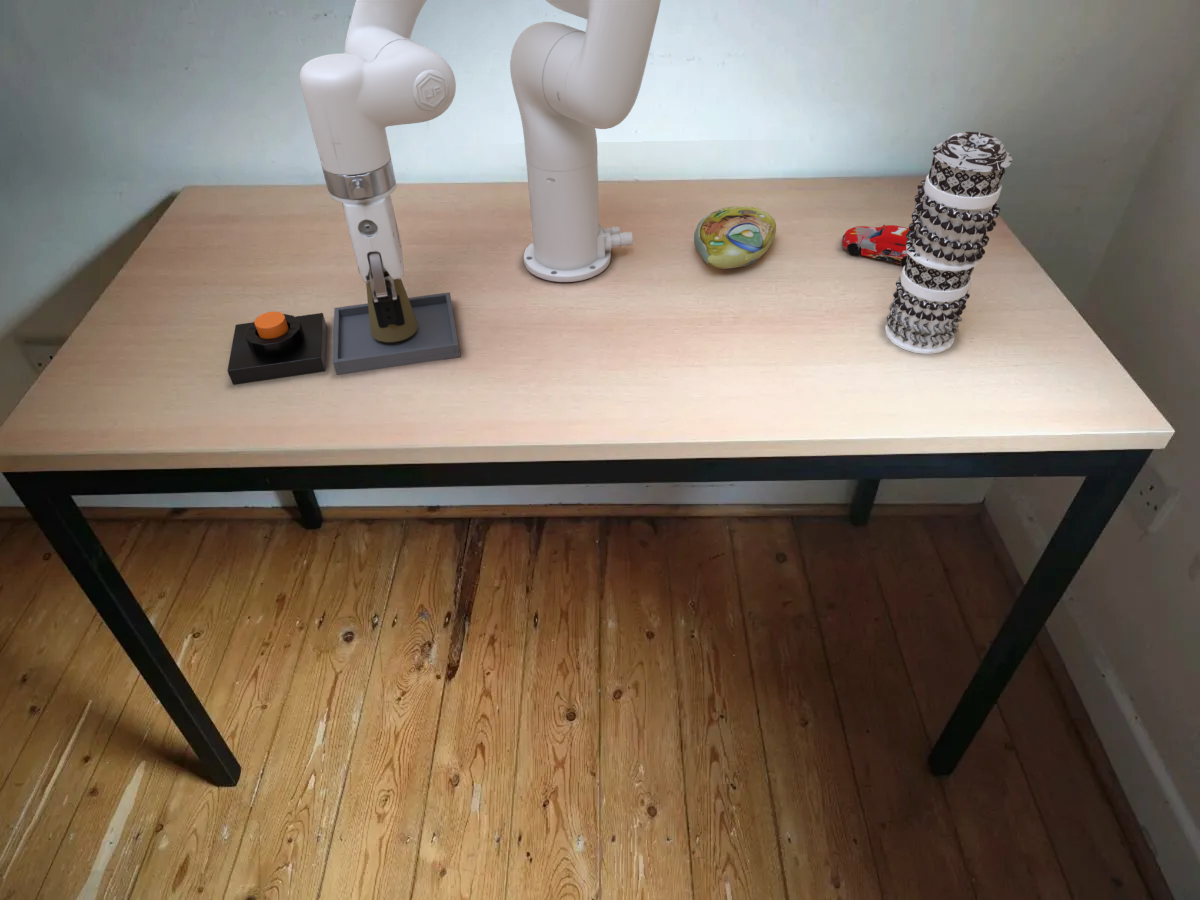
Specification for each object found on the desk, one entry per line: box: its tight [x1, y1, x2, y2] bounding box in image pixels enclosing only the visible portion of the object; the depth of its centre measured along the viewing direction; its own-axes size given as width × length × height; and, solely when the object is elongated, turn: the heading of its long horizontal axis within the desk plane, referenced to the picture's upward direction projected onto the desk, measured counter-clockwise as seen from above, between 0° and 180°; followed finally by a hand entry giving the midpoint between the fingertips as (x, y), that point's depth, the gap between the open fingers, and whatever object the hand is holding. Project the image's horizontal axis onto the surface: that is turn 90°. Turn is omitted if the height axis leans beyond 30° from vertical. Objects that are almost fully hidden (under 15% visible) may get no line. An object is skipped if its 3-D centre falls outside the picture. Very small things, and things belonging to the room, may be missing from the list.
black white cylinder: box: [884, 131, 1013, 355], centre depth 97 cm, size 9×9×25 cm
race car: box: [841, 224, 911, 267], centre depth 119 cm, size 13×5×4 cm, turn 60°
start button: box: [254, 311, 289, 339], centre depth 103 cm, size 4×4×2 cm
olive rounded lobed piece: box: [357, 254, 418, 342], centre depth 103 cm, size 6×6×11 cm
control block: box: [226, 312, 328, 386], centre depth 104 cm, size 11×10×4 cm
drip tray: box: [332, 291, 461, 376], centre depth 107 cm, size 15×12×2 cm
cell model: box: [693, 206, 777, 270], centre depth 119 cm, size 11×8×15 cm
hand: (391, 313), depth 105 cm, fingers closed on olive rounded lobed piece, 4 cm apart
